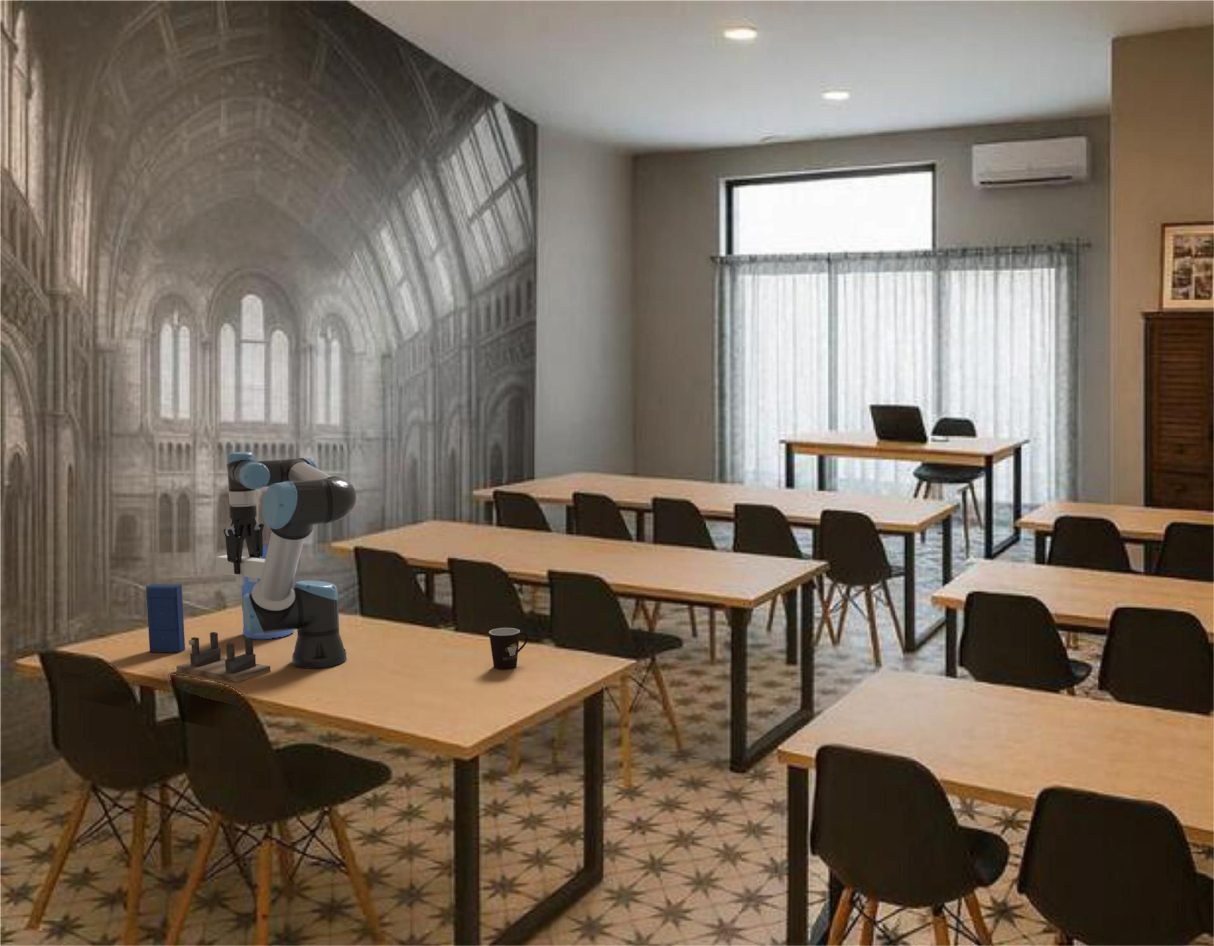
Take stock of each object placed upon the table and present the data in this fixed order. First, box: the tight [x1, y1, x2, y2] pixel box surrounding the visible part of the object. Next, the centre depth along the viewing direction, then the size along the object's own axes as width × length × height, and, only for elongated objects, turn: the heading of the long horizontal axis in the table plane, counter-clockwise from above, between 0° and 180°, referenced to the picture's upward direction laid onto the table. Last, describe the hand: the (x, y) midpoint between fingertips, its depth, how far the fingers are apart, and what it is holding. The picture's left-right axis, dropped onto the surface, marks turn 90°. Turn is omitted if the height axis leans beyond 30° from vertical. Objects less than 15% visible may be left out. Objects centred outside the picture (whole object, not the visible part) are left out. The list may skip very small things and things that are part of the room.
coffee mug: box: [488, 627, 529, 671], centre depth 318 cm, size 12×9×10 cm
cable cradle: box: [176, 631, 271, 683], centre depth 317 cm, size 24×12×10 cm, turn 60°
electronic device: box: [145, 583, 186, 653], centre depth 340 cm, size 10×5×20 cm, turn 84°
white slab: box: [215, 554, 265, 579], centre depth 335 cm, size 20×4×5 cm, turn 60°
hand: (246, 583), depth 335 cm, fingers closed on white slab, 4 cm apart
